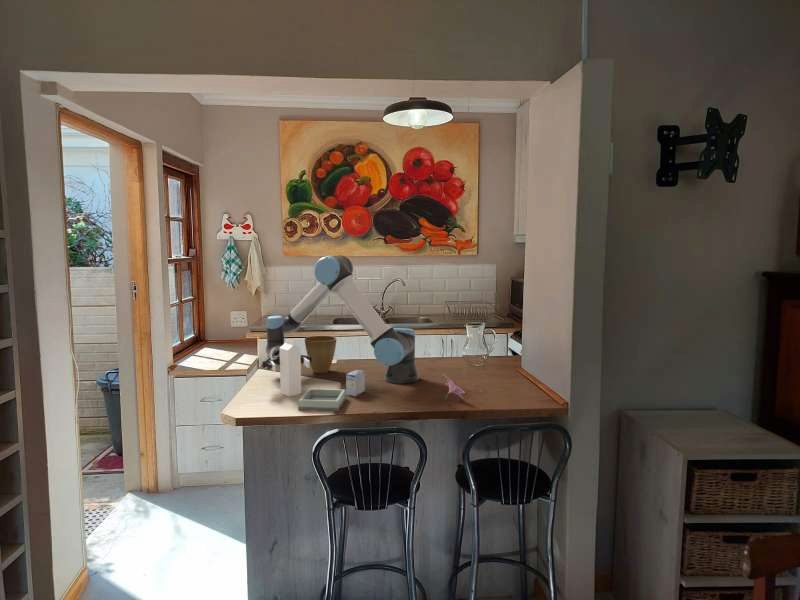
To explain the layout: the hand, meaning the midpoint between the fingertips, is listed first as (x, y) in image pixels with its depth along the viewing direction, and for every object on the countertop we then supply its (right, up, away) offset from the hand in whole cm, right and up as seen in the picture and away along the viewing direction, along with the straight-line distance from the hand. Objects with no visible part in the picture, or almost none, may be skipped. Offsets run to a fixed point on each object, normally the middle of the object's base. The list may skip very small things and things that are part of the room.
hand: (292, 366), depth 202 cm
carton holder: (+14, -13, -9) cm, 21 cm away
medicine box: (+25, -12, +5) cm, 28 cm away
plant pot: (+6, -8, +39) cm, 40 cm away
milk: (-1, -12, +4) cm, 13 cm away
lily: (+64, -13, -3) cm, 65 cm away
